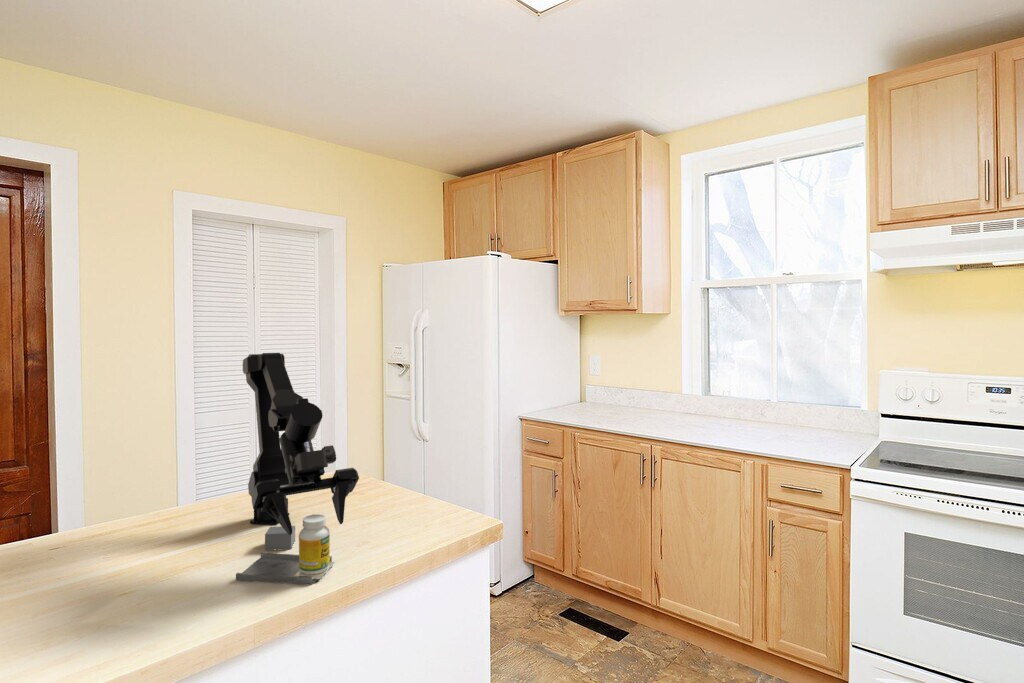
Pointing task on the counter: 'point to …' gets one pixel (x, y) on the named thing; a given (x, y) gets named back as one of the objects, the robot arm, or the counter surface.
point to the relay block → (279, 538)
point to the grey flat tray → (279, 570)
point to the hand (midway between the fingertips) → (316, 528)
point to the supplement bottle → (314, 545)
